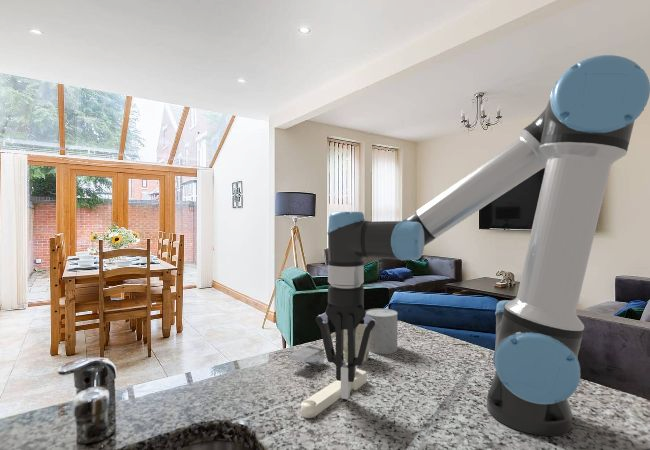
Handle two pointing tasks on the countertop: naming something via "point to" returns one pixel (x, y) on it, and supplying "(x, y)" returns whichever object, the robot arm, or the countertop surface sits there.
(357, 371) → the link
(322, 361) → the keeper
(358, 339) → the mug
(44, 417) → the countertop surface
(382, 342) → the gray cylinder
